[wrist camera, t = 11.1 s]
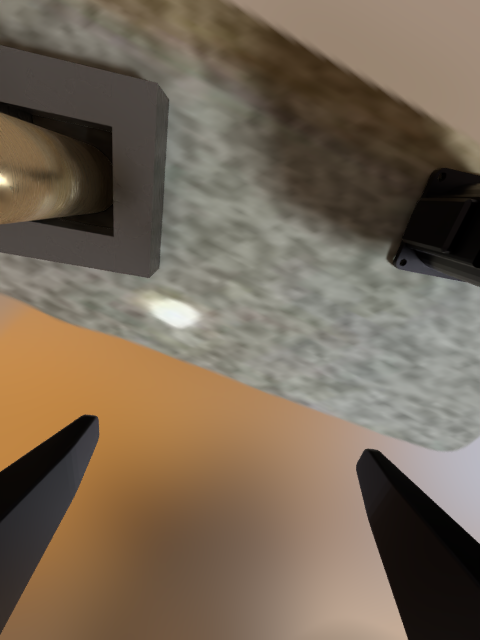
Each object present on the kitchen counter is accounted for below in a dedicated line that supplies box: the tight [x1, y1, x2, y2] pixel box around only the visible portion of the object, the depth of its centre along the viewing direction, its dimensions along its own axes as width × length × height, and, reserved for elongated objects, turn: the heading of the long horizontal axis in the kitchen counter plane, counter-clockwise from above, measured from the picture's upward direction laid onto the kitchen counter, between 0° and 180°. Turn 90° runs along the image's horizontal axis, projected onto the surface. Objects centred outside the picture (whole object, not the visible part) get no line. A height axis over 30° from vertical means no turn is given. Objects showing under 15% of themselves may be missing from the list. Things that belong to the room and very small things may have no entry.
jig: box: [0, 45, 169, 278], centre depth 16 cm, size 10×10×2 cm
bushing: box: [0, 112, 113, 224], centre depth 13 cm, size 4×4×9 cm
